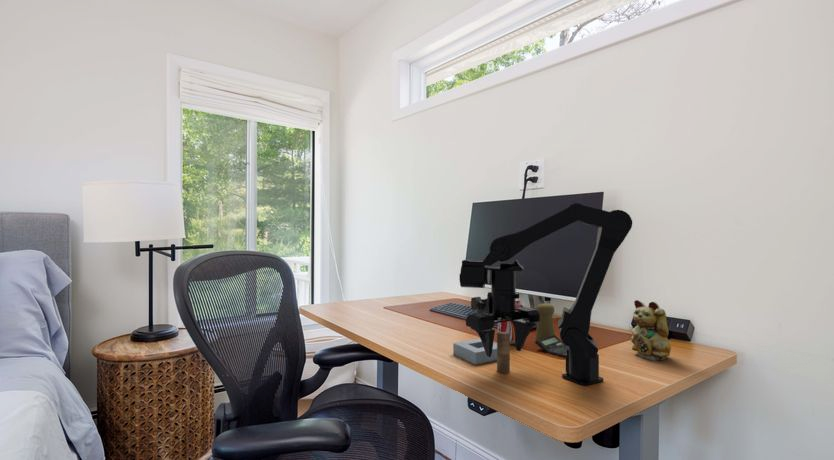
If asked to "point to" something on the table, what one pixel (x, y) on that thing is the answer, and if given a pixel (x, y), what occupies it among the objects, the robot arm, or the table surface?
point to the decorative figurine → (650, 332)
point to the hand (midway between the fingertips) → (503, 353)
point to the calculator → (553, 346)
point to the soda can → (509, 325)
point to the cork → (545, 321)
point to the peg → (503, 352)
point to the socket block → (474, 351)
